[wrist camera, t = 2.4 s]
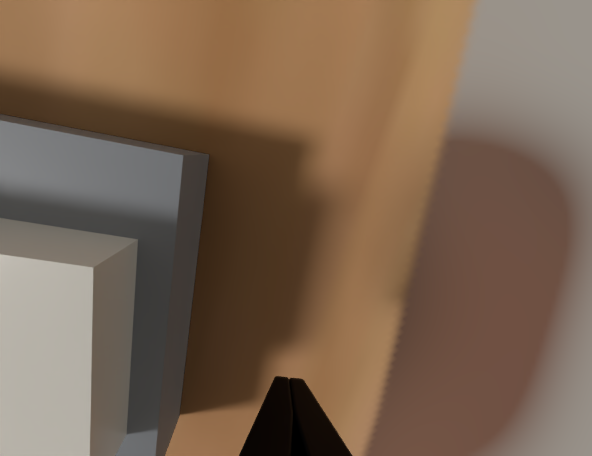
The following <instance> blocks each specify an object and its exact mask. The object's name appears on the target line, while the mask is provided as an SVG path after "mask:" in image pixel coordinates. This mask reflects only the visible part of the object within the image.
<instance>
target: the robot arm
mask: <svg viewBox="0 0 592 456" xmlns="http://www.w3.org/2000/svg"><path fill="white" fill-rule="evenodd" d="M239 456H352V454H351V453H350V451H349V450H348V448H347V447H346V445H345V443H344V442H343V440H342V439H341V437H340V436H339V434H338V433H337V431H336V429H335V428H334V426H333V425H332V423H331V422H330V420H329V419H328V417H327V416H326V414H325V412H324V411H323V409H322V408H321V406H320V405H319V403H318V402H317V400H316V398H315V397H314V395H313V394H312V392H311V391H310V389H309V388H308V386H307V384H306V383H305V381H304V380H303V379H299V378H290V379H288V378H287V377H280V376H276V377H275V378H274V380H273V382H272V384H271V387H270V389H269V391H268V393H267V395H266V398H265V400H264V402H263V404H262V406H261V408H260V411H259V413H258V415H257V417H256V419H255V422H254V424H253V426H252V428H251V430H250V433H249V435H248V437H247V439H246V441H245V444H244V446H243V448H242V450H241V452H240V454H239Z"/></svg>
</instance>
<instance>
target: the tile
mask: <svg viewBox="0 0 592 456" xmlns="http://www.w3.org/2000/svg"><path fill="white" fill-rule="evenodd" d="M137 247H138V239H133V238H126V237H120V236H113V235H107V234H100V233H94V232H88V231H81V230H75V229H68V228H62V227H55V226H49V225H43V224H36V223H30V222H23V221H17V220H10V219H4V218H0V456H115V455H116V453H117V451H118V450H119V448H120V446H121V444H122V442H123V440H124V438H125V436H126V434H127V418H128V401H129V384H130V367H131V350H132V333H133V316H134V299H135V282H136V265H137Z"/></svg>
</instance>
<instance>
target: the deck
mask: <svg viewBox="0 0 592 456" xmlns="http://www.w3.org/2000/svg"><path fill="white" fill-rule="evenodd" d="M208 161H209V154H205V153H199V152H194V151H189V150H184V149H179V148H174V147H168V146H163V145H158V144H153V143H148V142H143V141H137V140H132V139H127V138H122V137H117V136H112V135H106V134H101V133H96V132H91V131H86V130H81V129H75V128H70V127H65V126H60V125H55V124H49V123H44V122H39V121H34V120H29V119H24V118H18V117H13V116H8V115H3V114H0V218H4V219H10V220H17V221H23V222H30V223H36V224H43V225H49V226H55V227H62V228H68V229H75V230H81V231H88V232H94V233H100V234H107V235H113V236H120V237H126V238H133V239H138V247H137V265H136V282H135V299H134V316H133V333H132V350H131V367H130V384H129V401H128V418H127V434H126V436H125V438H124V440H123V442H122V444H121V446H120V448H119V450H118V451H117V453H116V455H115V456H165V454H166V451H167V448H168V446H169V443H170V440H171V437H172V435H173V432H174V429H175V427H176V424H177V421H178V418H179V415H180V406H181V397H182V389H183V380H184V371H185V362H186V354H187V345H188V336H189V327H190V319H191V310H192V301H193V292H194V284H195V275H196V266H197V258H198V249H199V240H200V231H201V223H202V214H203V205H204V196H205V188H206V179H207V170H208Z"/></svg>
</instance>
